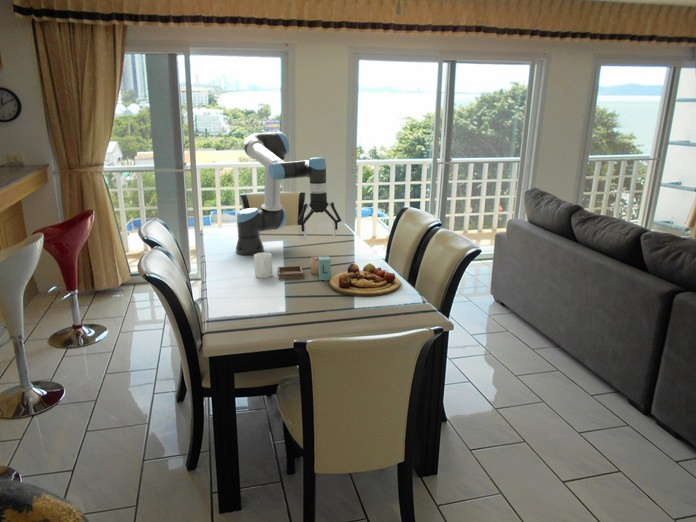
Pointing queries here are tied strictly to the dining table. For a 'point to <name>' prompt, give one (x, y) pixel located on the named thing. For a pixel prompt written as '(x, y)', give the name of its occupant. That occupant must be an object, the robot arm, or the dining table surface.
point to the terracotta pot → (314, 265)
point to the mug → (263, 265)
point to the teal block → (324, 268)
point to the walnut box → (290, 272)
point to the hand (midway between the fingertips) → (319, 237)
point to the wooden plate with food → (365, 281)
